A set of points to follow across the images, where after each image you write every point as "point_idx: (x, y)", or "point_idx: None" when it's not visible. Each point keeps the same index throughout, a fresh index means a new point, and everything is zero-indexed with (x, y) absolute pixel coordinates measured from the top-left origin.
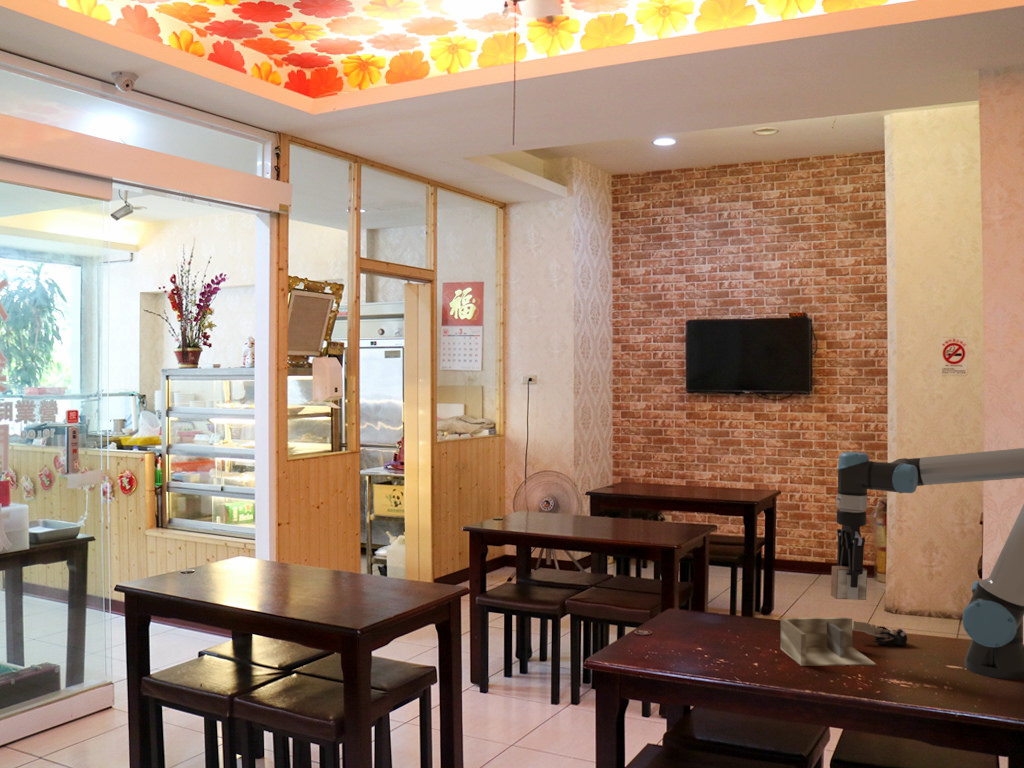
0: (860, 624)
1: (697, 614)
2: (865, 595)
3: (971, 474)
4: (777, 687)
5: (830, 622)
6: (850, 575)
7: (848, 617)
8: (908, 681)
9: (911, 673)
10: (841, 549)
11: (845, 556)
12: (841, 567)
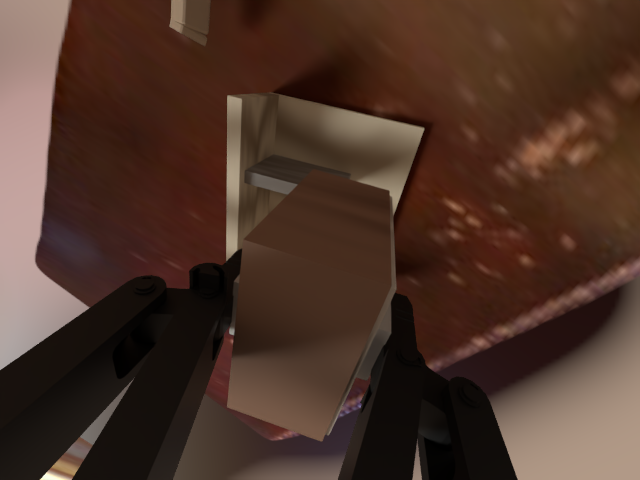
0: (192, 10)
1: (51, 249)
2: (392, 205)
3: None
4: (440, 364)
5: (246, 173)
6: (370, 367)
7: (228, 104)
8: (565, 117)
9: (517, 53)
10: (42, 458)
11: (183, 429)
12: (276, 395)
